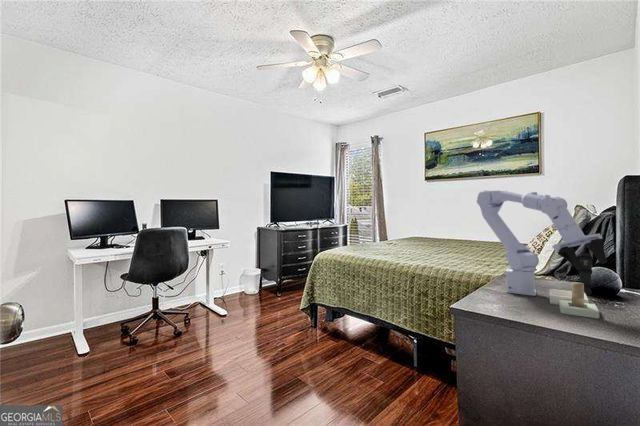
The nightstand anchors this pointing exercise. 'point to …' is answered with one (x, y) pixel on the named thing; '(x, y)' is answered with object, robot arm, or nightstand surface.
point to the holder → (579, 309)
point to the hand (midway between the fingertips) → (592, 265)
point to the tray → (562, 296)
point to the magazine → (586, 271)
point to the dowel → (577, 294)
